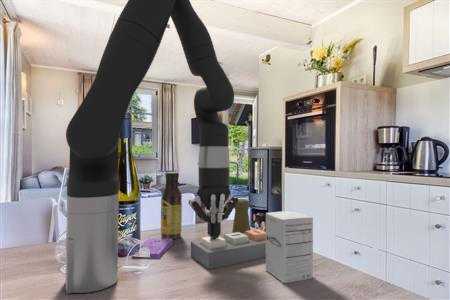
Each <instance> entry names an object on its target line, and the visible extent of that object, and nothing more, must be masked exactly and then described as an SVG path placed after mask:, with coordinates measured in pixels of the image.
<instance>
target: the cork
mask: <svg viewBox="0 0 450 300" xmlns="http://www.w3.org/2000/svg"><path fill="white" fill-rule="evenodd" d="M250 206H251V204H250V202H249V200H248V199H245V198H238V202H237V204H236V205H235V207H234V209H233V210H234V216H233V223H232V232H231V233H236V232H240V233H242V234H243V233H245V231H250V230H251V224H250V216H249V209H250Z"/></svg>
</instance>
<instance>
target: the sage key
mask: <svg viewBox="0 0 450 300" xmlns="http://www.w3.org/2000/svg"><path fill="white" fill-rule="evenodd" d="M223 236H224V239H225V240H226V242H227V243H229V244H231V245H236V244H242V243H248V236H247V235H244V234H242V233H240V232H236V233H232V232H231V233H225V234H224V235H223Z"/></svg>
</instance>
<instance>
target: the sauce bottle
mask: <svg viewBox="0 0 450 300" xmlns="http://www.w3.org/2000/svg"><path fill="white" fill-rule="evenodd" d="M164 174H165V175H164V177H165V187H164V189H163V192H162V195H161V198H160V199H161V200H160V205H161V206H160V236H161V239H172V240H174V239H176V240H177V239H179V238H180V237H181V235H182V234H181V233H182V216H183V215H182V213H183V212H182V211H183V209H182V208H183V203H182V197H183V196H182V192H181V190H180V189H179V177H180V172H178V171H166V172H165V173H164Z"/></svg>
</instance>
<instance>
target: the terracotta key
mask: <svg viewBox="0 0 450 300" xmlns="http://www.w3.org/2000/svg"><path fill="white" fill-rule="evenodd" d="M245 235H247V236H248V239H250V240H253V241H259V240H265V239H266V230H262V229H259V228H258V229H250V231H245Z"/></svg>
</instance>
